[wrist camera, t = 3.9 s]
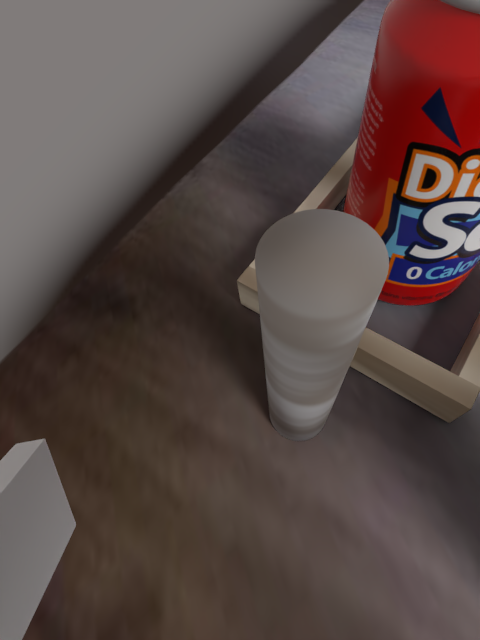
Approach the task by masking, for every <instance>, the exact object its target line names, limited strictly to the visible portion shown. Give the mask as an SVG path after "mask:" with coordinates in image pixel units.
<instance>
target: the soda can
mask: <svg viewBox="0 0 480 640" xmlns="http://www.w3.org/2000/svg"><path fill="white" fill-rule="evenodd" d="M343 212H345V213H347V214H350V215H353V216H355V217H357V218H359V219H361V220H362V221H364V222H366V223H367V224H368V225H369V226H371V227H372V228H373V229H374V230H375V231H376V232H377V233H378V234H379V236H380V237H381V238H382V240H383V242H384V244H385V246H386V249H387V251H388V256H389V270H388V275H387V277H386V280H385V283H384V285H383V287H382V290H381V292H380V295H379V297H378V300H381V301H384V302H387V303H391V304H397V305H408V306H412V305H423V304H429V303H432V302H435V301H438V300H441V299H443V298H445V297H446V296H448V295H450V294H451V293H452V292H454V291H455V290H456V289H457V288H458V287H459V286H460V285H461V284H462V283H463V281H464V280H465V279H466V278H467V276H468V275H469V274H470V272H471V271H472V270H473V268H474V267H475V266H476V264H477V263H478V261H479V260H480V0H391V1H390V2H389V3H388V5H387V7H386V9H385V11H384V14H383V17H382V20H381V24H380V29H379V33H378V38H377V43H376V48H375V53H374V58H373V63H372V68H371V73H370V78H369V83H368V88H367V93H366V98H365V104H364V109H363V114H362V119H361V124H360V129H359V134H358V139H357V144H356V149H355V154H354V159H353V164H352V169H351V174H350V180H349V185H348V190H347V195H346V200H345V205H344V210H343Z"/></svg>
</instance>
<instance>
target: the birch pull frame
mask: <svg viewBox="0 0 480 640" xmlns="http://www.w3.org/2000/svg"><path fill="white" fill-rule="evenodd" d="M357 139H358V138H357ZM357 139H356V140H355V141H354V142H353V144H352V145H351V146H350V147H349V148H348V149H347V151H346V152H345V153H344V154H343V155H342V157H341V158H340V159H339V160H338V161H337V162H336V164H335V165H334V166H333V167H332V168H331V170H330V171H329V172H328V173H327V174H326V175H325V177H324V178H323V179H322V180H321V181H320V183H319V184H318V185H317V186H316V187H315V188H314V190H313V191H312V192H311V193H310V194H309V196H308V197H307V198H306V199H305V200H304V201H303V203H302V204H301V205H300V206H299V207H298V209H297V210H296V211H295V212H294V213H293V214H290V215H288V216H286V217H284V218H282V219H280V220H279V221H277V222H276V223H274V224H273V225H272V226H271V227H270V228H269V229H268V230H267V231H266V232H265V233H264V234H263V236H262V237H261V239H260V241H259V243H258V246H257V248H256V253H255V259H254V261H253V262H252V263H251V264H250V265H249V267H248V268H247V269H246V270H245V271H244V272H243V274H242V275H241V276H240V277H239V278H238V280H237V285H238V291H239V296H240V302H241V304H243V305H244V306H246V307H248V308H249V309H251V310H253V311H255V312H256V313H258V314H260V321H261V332H262V342H263V352H264V363H265V373H266V384H267V394H268V405H269V415H270V420H271V422H272V425H273V426H274V428H275V429H276V431H277V432H278V433H279V434H281V435H282V436H283V437H285V438H287V439H289V440H293V441H306V440H309V439H312V438H313V437H315V436H316V435H318V434H319V433H320V432H321V430H322V429H323V427H324V425H325V423H326V420H327V418H328V416H329V413H330V411H331V409H332V406H333V404H334V401H335V399H336V397H337V394H338V392H339V390H340V387H341V385H342V382H343V380H344V378H345V375H346V373H347V371H348V368H349V367H350V366H351V367H352V368H354V369H356V370H358V371H359V372H361V373H363V374H364V375H366V376H368V377H370V378H371V379H373V380H375V381H377V382H378V383H380V384H382V385H384V386H385V387H387V388H389V389H391V390H392V391H394V392H396V393H398V394H399V395H401V396H403V397H405V398H406V399H408V400H410V401H412V402H413V403H415V404H417V405H418V406H420V407H422V408H424V409H425V410H427V411H429V412H431V413H432V414H434V415H436V416H438V417H439V418H441V419H443V420H445V421H446V422H448V423H450V422H452V421H453V420H455V419H456V418H458V417H460V416H461V415H463V414H464V413H466V412H468V411H469V410H471V408H472V406H473V404H474V402H475V400H476V398H477V395H478V393H479V391H480V313H479V315H478V317H477V319H476V321H475V323H474V325H473V327H472V329H471V331H470V333H469V335H468V337H467V339H466V341H465V343H464V345H463V347H462V349H461V351H460V353H459V355H458V357H457V359H456V361H455V363H454V365H453V367H452V369H451V371H448V370H446V369H444V368H442V367H440V366H438V365H437V364H435V363H433V362H431V361H429V360H427V359H425V358H423V357H421V356H419V355H418V354H416V353H414V352H412V351H410V350H408V349H406V348H404V347H402V346H400V345H398V344H397V343H395V342H393V341H391V340H389V339H387V338H385V337H383V336H381V335H379V334H378V333H376V332H374V331H372V330H370V329H368V328H366V325H367V323H368V321H369V318H370V316H371V314H372V311H373V309H374V306H375V304H376V302H377V299H378V297H379V295H380V292H381V290H382V287H383V285H384V283H385V280H386V277H387V275H388V270H389V256H388V251H387V249H386V246H385V244H384V242H383V240H382V238H381V237H380V236H379V234H378V233H377V232H376V231H375V230H374V229H373V228H372V227H371V226H369V225H368V224H367V223H366V222H364V221H362V220H361V219H359V218H357V217H355V216H353V215H350V214H347V213H345V212H341V211H336V210H334V209H335V208H336V207H337V205H338V204H339V203H340V202H341V200H342V199H343V198H344V196H345V195H346V194H347V190H348V185H349V180H350V174H351V169H352V164H353V159H354V154H355V149H356V144H357Z"/></svg>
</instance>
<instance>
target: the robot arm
mask: <svg viewBox="0 0 480 640" xmlns="http://www.w3.org/2000/svg"><path fill="white" fill-rule="evenodd" d="M75 527H76V523H75V520H74V517H73V514H72V512H71V509H70V506H69V503H68V501H67V498H66V495H65V492H64V490H63V487H62V484H61V481H60V479H59V476H58V473H57V470H56V468H55V465H54V462H53V459H52V456H51V454H50V451H49V448H48V445H47V443H46V440H45V439H40V440H34V441H29V442H24V443H18V444H15V445H14V446H13V448H12V449H11V450H10V451H9V452H8V453H7V454H6V455H5V456H4V457H3V458H2V460H1V461H0V640H22V638H23V636H24V634H25V632H26V630H27V628H28V626H29V624H30V621H31V619H32V617H33V615H34V613H35V611H36V609H37V607H38V605H39V602H40V600H41V598H42V596H43V594H44V592H45V590H46V588H47V586H48V584H49V581H50V579H51V577H52V575H53V573H54V571H55V569H56V567H57V565H58V562H59V560H60V558H61V556H62V554H63V552H64V550H65V548H66V546H67V544H68V541H69V539H70V537H71V535H72V533H73V531H74V529H75Z"/></svg>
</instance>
